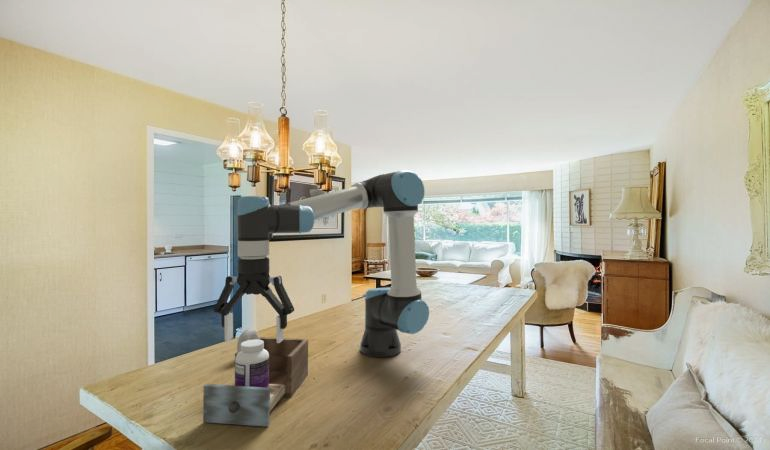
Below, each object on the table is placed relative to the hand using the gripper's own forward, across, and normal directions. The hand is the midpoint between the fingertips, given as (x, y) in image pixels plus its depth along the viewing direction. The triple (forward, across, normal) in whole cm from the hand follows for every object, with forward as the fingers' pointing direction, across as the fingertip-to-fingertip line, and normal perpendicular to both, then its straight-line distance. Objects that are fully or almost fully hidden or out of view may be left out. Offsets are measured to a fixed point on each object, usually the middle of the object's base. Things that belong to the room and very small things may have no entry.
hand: (254, 340), depth 88 cm
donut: (+17, +18, -30) cm, 39 cm away
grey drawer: (+16, +1, +2) cm, 17 cm away
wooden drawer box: (+17, 0, -12) cm, 21 cm away
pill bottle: (+15, 0, 0) cm, 15 cm away
